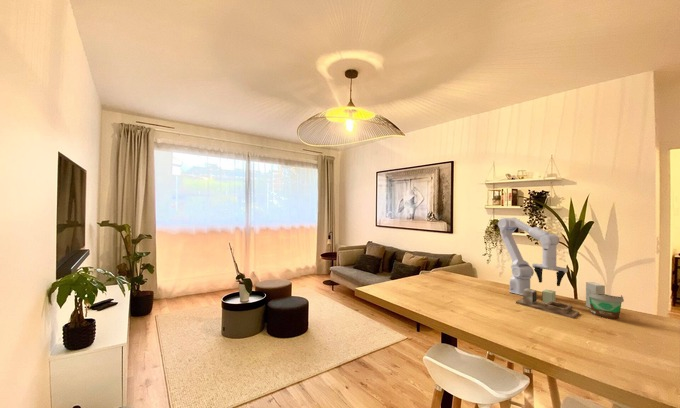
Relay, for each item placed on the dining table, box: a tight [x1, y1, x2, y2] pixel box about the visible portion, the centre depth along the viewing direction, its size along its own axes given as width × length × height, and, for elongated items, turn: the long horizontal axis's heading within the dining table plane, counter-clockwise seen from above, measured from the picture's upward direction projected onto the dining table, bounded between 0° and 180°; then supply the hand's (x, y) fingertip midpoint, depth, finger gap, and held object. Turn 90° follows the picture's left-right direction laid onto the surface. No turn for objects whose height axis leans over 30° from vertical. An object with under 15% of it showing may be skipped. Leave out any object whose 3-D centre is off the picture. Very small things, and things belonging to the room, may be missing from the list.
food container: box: [587, 292, 625, 320], centre depth 124 cm, size 12×6×10 cm, turn 62°
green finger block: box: [541, 288, 557, 304], centre depth 143 cm, size 4×5×6 cm
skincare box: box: [585, 281, 606, 309], centre depth 135 cm, size 6×4×12 cm
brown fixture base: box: [515, 288, 580, 319], centre depth 134 cm, size 23×9×7 cm, turn 36°
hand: (549, 283), depth 142 cm, fingers open, 7 cm apart
